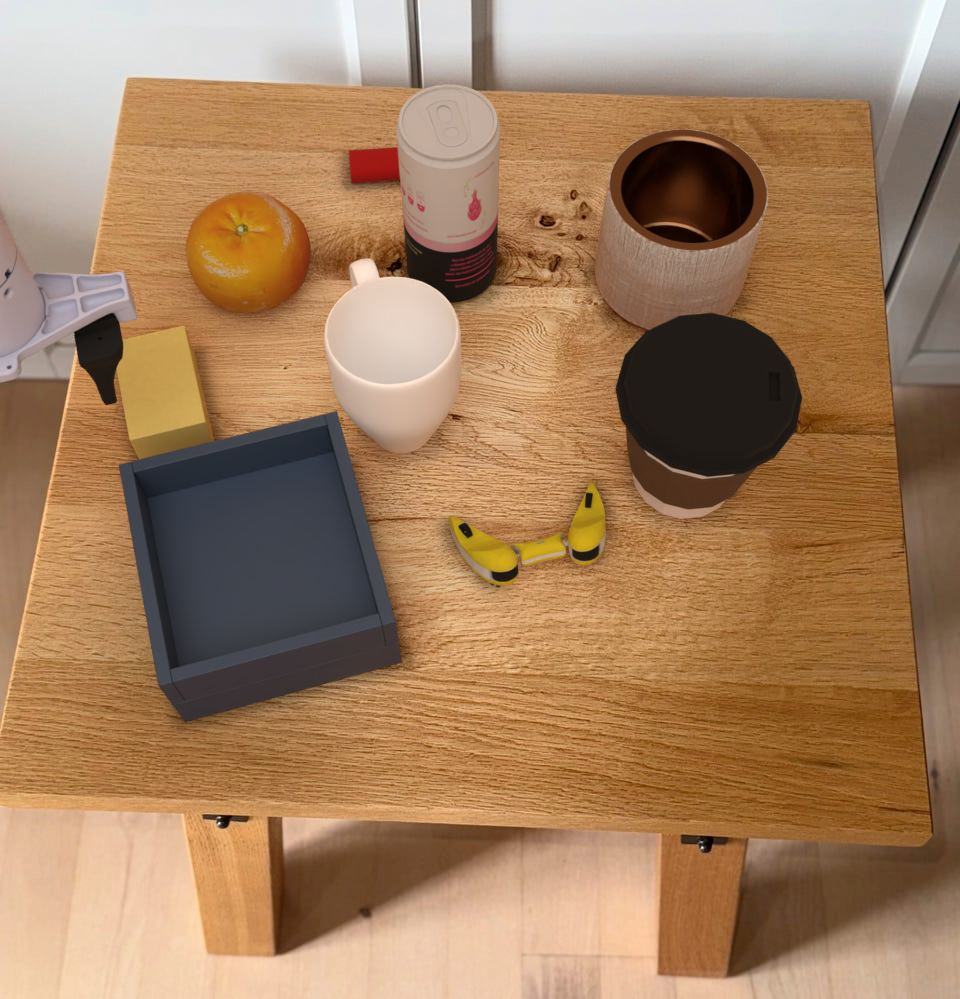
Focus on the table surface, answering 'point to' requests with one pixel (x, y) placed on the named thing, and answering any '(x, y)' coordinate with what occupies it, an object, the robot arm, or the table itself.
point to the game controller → (533, 544)
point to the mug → (393, 357)
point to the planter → (678, 226)
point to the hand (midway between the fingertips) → (45, 405)
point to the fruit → (248, 252)
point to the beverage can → (450, 189)
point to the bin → (257, 567)
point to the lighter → (374, 165)
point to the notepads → (162, 393)
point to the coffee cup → (703, 410)
